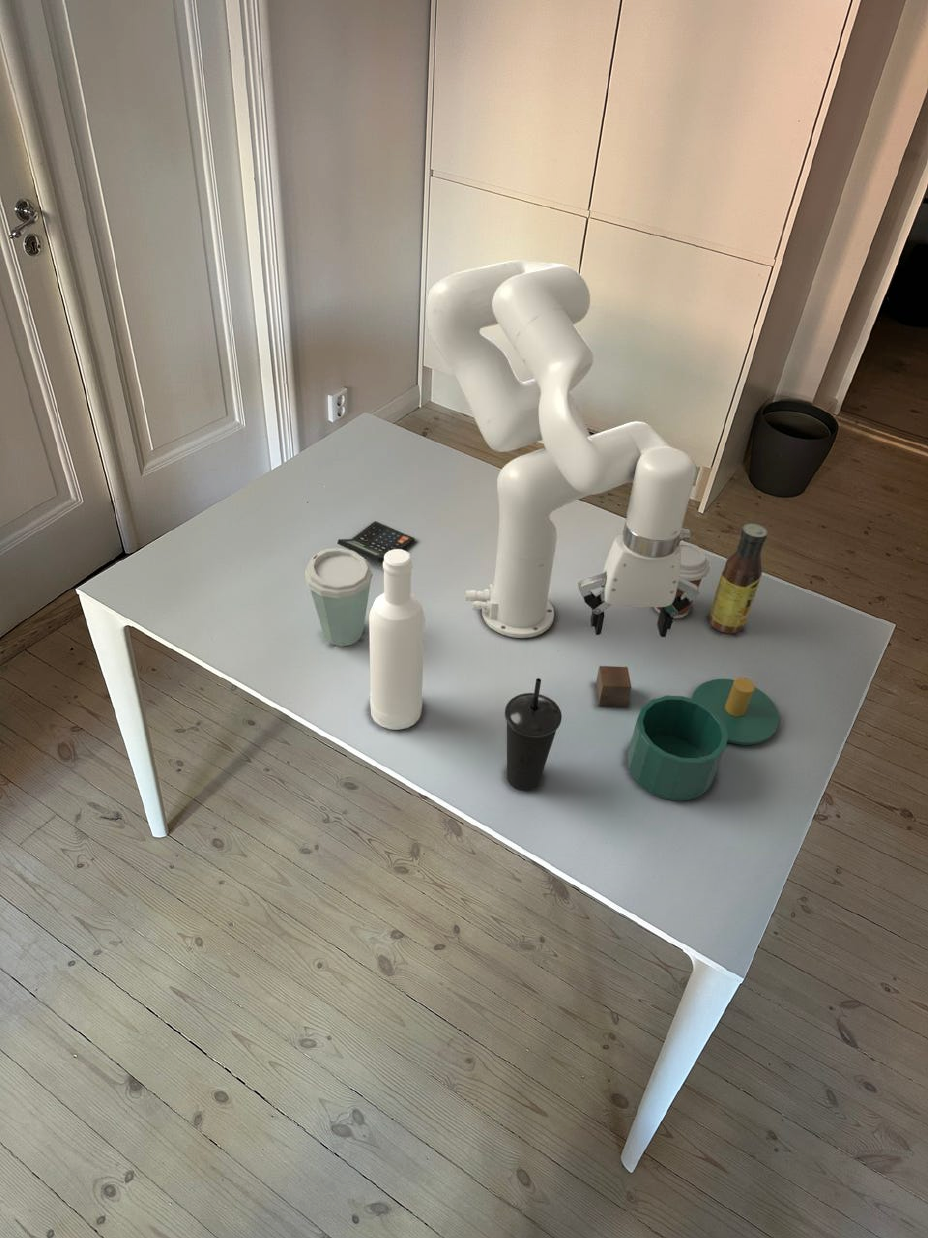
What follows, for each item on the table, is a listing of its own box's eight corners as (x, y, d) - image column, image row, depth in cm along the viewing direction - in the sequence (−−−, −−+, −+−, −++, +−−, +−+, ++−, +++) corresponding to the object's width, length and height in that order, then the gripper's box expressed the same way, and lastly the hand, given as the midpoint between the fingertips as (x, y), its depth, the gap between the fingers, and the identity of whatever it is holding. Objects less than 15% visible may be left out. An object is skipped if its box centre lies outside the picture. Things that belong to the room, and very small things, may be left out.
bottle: (402, 739, 131) (404, 582, 111) (359, 716, 134) (355, 560, 114) (431, 706, 136) (439, 552, 116) (390, 685, 139) (391, 531, 119)
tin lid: (699, 746, 133) (710, 716, 129) (682, 682, 143) (691, 652, 139) (787, 749, 134) (801, 719, 129) (764, 685, 144) (775, 655, 139)
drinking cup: (494, 757, 129) (506, 659, 116) (545, 756, 130) (562, 659, 117) (499, 799, 123) (513, 702, 110) (553, 798, 124) (572, 700, 111)
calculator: (414, 541, 168) (414, 528, 166) (377, 571, 161) (377, 558, 159) (375, 524, 172) (375, 512, 170) (337, 553, 164) (337, 540, 162)
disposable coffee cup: (385, 626, 150) (384, 556, 140) (353, 665, 142) (350, 594, 132) (331, 607, 153) (327, 537, 143) (297, 644, 145) (290, 572, 135)
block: (598, 706, 138) (603, 686, 135) (595, 685, 142) (599, 665, 139) (626, 707, 138) (631, 687, 135) (622, 686, 142) (627, 666, 139)
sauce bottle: (743, 638, 152) (777, 546, 139) (707, 632, 153) (737, 539, 140) (742, 614, 157) (774, 523, 144) (707, 608, 158) (736, 517, 145)
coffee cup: (699, 598, 160) (715, 545, 152) (692, 628, 154) (709, 574, 146) (650, 585, 162) (663, 532, 154) (641, 615, 156) (654, 561, 148)
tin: (634, 799, 125) (645, 761, 119) (621, 732, 134) (631, 694, 129) (721, 802, 125) (736, 764, 120) (702, 735, 135) (716, 697, 129)
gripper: (707, 522, 122) (681, 615, 134) (584, 518, 122) (568, 612, 133) (719, 554, 117) (691, 649, 128) (590, 550, 116) (573, 645, 127)
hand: (629, 630), depth 130 cm, fingers open, 9 cm apart
